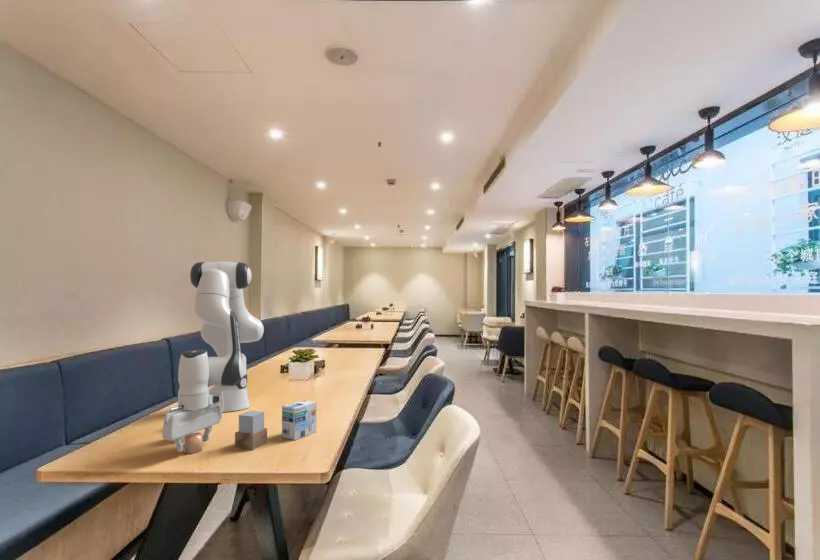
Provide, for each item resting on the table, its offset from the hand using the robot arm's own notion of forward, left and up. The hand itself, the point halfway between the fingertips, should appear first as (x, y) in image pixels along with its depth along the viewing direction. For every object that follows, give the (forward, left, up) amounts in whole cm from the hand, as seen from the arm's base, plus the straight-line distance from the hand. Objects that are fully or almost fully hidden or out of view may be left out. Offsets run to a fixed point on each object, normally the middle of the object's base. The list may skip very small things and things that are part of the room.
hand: (193, 445), depth 136 cm
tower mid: (+14, +10, +3) cm, 18 cm away
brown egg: (0, 0, -2) cm, 2 cm away
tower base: (+14, +10, -2) cm, 17 cm away
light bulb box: (+23, +24, -2) cm, 33 cm away
